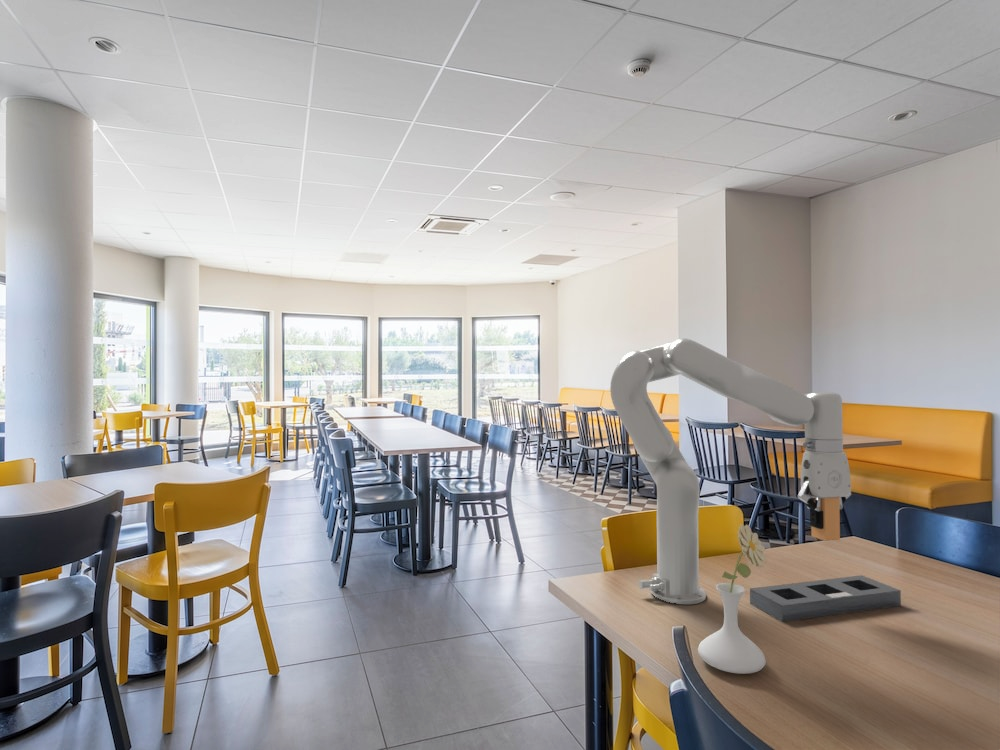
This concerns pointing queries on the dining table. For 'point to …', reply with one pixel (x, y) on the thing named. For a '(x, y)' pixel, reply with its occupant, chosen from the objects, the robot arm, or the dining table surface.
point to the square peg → (828, 520)
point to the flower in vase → (735, 617)
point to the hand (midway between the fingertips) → (825, 525)
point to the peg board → (824, 598)
